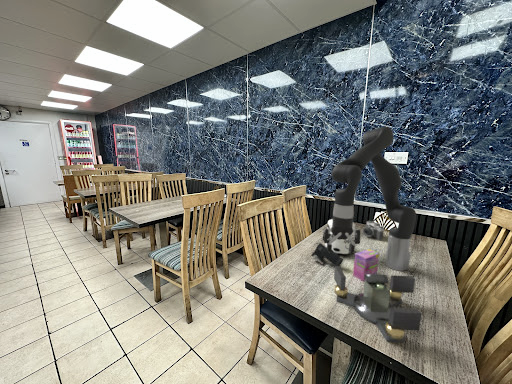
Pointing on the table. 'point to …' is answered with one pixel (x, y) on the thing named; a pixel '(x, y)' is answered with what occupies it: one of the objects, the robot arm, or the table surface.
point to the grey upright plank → (340, 282)
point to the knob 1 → (401, 286)
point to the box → (365, 263)
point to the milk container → (340, 241)
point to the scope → (326, 255)
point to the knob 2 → (402, 322)
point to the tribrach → (374, 302)
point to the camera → (374, 230)
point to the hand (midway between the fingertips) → (340, 252)
